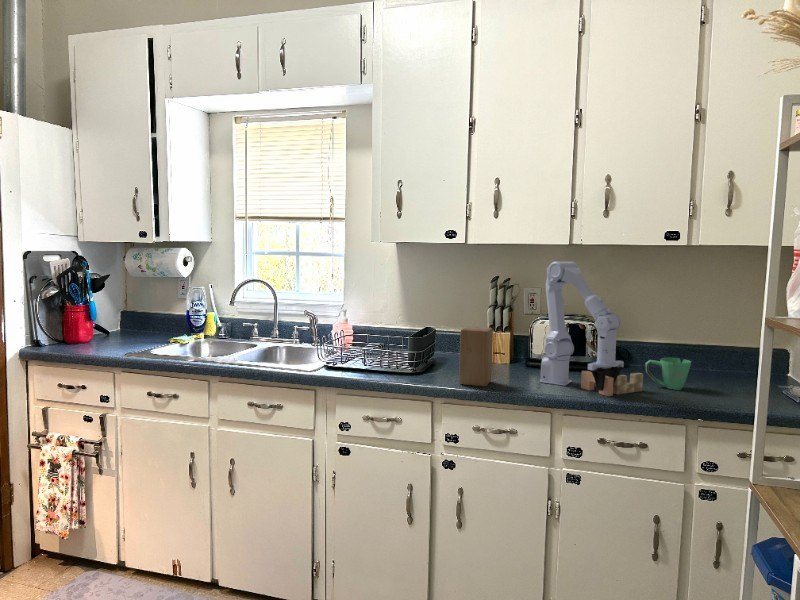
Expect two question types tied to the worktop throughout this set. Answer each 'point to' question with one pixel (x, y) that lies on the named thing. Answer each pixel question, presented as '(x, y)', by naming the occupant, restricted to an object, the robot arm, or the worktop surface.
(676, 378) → the mug
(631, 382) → the tan notched block
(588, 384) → the tan flat notched board
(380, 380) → the worktop surface
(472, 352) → the wooden block
